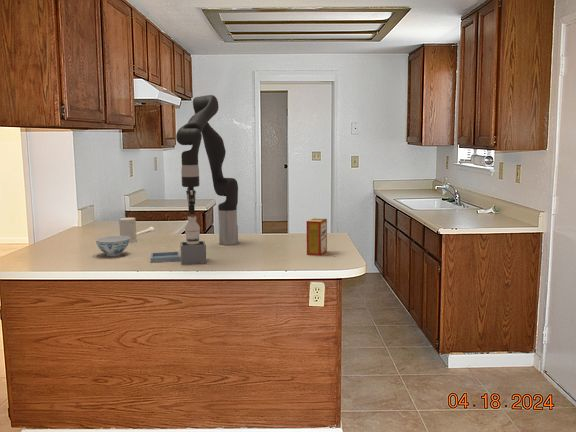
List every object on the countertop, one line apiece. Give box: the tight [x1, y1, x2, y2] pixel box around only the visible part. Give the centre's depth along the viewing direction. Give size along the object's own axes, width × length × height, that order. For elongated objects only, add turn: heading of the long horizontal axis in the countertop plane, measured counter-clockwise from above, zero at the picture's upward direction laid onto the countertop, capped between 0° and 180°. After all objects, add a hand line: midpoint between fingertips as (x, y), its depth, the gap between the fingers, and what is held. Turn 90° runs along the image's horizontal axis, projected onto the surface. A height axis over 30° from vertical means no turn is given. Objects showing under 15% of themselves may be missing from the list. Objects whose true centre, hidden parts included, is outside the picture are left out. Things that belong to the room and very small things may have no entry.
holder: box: [179, 240, 207, 265], centre depth 257 cm, size 11×10×8 cm
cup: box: [118, 217, 138, 244], centre depth 306 cm, size 8×8×12 cm
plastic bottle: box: [184, 215, 201, 246], centre depth 256 cm, size 6×7×20 cm
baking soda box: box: [306, 217, 328, 257], centre depth 270 cm, size 10×6×16 cm
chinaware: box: [95, 235, 130, 257], centre depth 273 cm, size 15×15×8 cm
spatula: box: [136, 226, 156, 237], centre depth 326 cm, size 28×4×3 cm, turn 163°
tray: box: [150, 251, 181, 264], centre depth 263 cm, size 13×12×2 cm
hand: (191, 212), depth 255 cm, fingers open, 8 cm apart
